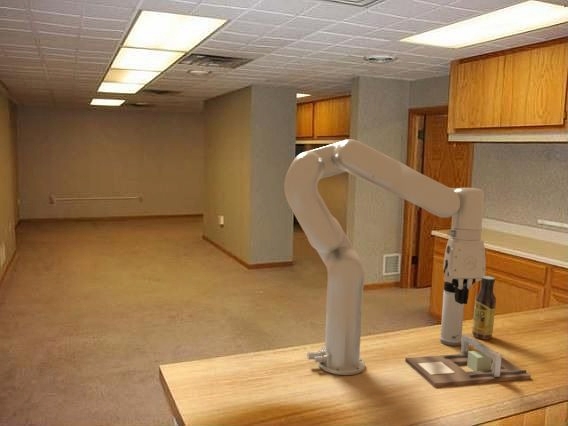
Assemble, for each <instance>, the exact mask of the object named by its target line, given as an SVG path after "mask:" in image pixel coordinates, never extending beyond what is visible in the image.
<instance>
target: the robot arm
mask: <svg viewBox="0 0 568 426" xmlns="http://www.w3.org/2000/svg"><path fill="white" fill-rule="evenodd" d="M343 173H348V174H351V175H352V176H355V178H358V179H360V180H362V181H364V182H366V183H368V184H370V185H372V186H373V187H376V188H378V189H379V190H381V191H384V192H386V193H387V194H390V195H393V196H396V197H398V198H401V199H403V200H405V201H408V202H409V203H411V204H414V205H416V206H418V207H419V208H422V209H423V210H425V211H427V212H428V213H430V214H432V215H434V216H437V217H439V218H443V219H444V218H445V219H446V218H447V219H448V218H450V217H451V226H450V230H447V231H446V235H447V236H448V237H450V238H448V240H447V242H446V246H445V252H444V258H443V266H442V268H443V269H442V271H443V273H442V274H444V275H443V277H442V279H443V281H444V282H450V283H452V284H453V286H454V287H455V301H456V302H458V303H460V304H464V305H467V304H468V301H469V292H470V289H471V288H472V286H473V285H474V284H475V283H478V282H481V280H482V277H484V276H486V263H487V262H486V248H485V241H484V240H482V231H483V230H482V228H483V218H484V217H483V216H484V215H483V214H484V201H485V194H484V193H485V192H484V191H483V189H480V188H477V187H458V188H457V187H448V186H446V185H445V184H443V183H441V182H439V181H436V180H435V179H433V178H432V177H428V176H427V175H425V174H422V173H421V172H419V171H417V170H415V169H413V168H412V167H410V166H408V165H406V164H404V163H402V162H401V161H399V160H396V159H395V158H393V157H391V156H388V155H386V154H385V153H383V152H381V151H379V150H377V149H376V148H373V147H371V146H369V145H367V144H366V143H364V142H361V141H359V140H356V139H352V138H349V139H347V138H346V139H344V140H341V141H338V142H335V143H332V144H328V145H326V146H322V147H319V148H315V149H310V150H307V151H303V152H301V153H299V154H298V155H296V156H295V158H294V159H293V161H292V162H291V164H290V166H289V167H288V170H287V172H286V174H285V179H284V195H285V198H286V200H287V203H288V205H289V207H290V209H291V211H292V214H293V215H294V217H295V218H296V220H297V222H298V223H299V226H300V227H301V229H302V231H303V232H304V234H305V236H306V237H307V241H308V242H309V244H310V246H311V247H312V249H314V250H316V252H317V254H318V256H319V257H320V258H321V260H322V263H324V265H325V267H326V271H327V284H326V286H327V288H326V301H325V302H326V306H325V310H326V311H325V315H326V316H325V334H324V335H325V338H324V346H321V349H320V350H318V351H316V352H314V351H310V352H309V351H308V352H307V353H306V357H307V360H308V361H309V360H314V362H315V363H318V367H319V368H320V369H322V370H323V372H327V373H329V374H333V375H337V376H352V375H357V374H359V373H362V372H363V371H364V370H365V367H366V362H365V360H364V359H362V358H361V357H360V353H361V352H360V351H361V332H362V331H361V329H362V311H363V295H364V286H365V277H366V276H365V267H364V263H363V262H362V259H361V258H360V256H359V254H358V252H357V251H356V249H355V248H354V246H353V245H352V242H351V241H350V238H349V237H348V236H347V234H346V233H345V231H344V230H343V227H342V226H341V224H340V223H339V221H338V219H337V218H336V217H334V216H333V214H332V213H331V212H330V210H329V208H328V207H327V205H326V203H325V201H324V199H323V198H322V195H321V194H320V192H319V189H318V184H319V181H320V180H321V179H325V178H328V177H333V176H336V175H339V174H343Z"/></svg>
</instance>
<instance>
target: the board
mask: <svg viewBox="0 0 568 426" xmlns="http://www.w3.org/2000/svg"><path fill="white" fill-rule="evenodd" d="M496 352H497V351H496ZM497 353H498V354H499V352H497ZM404 361H405V363H407V364H408V365H409V366H410V368H412V369H413V370H414V371H416V373H418V374H419V375H420V376H421V377H422V378H423V379H425V380H426V381H427V383H429V384H430V385H432V387H433V388H440V387H452V386H462V385H475V384H485V383H489V384H490V383H499V382H510V381H511V382H512V381H522V380H531V378H532V376H531V374H529V373H527V369H521V368H520V367H519V366H518V365H517V366H516V365H515V364H513V363H511V361H509V360H507V359H505V358H504V357H502V356H501V368H500V376H499V377H494V376H492V369H491V370H483V371H473V370H472V371H471V370H470V371H466V370H464V369H463V368H462V367H460V366H462V365H464V366H465V365H466V366H467V361H468V354H463V355H462V354H461V353H455V354H443V355H429V356H428V355H427V356H415V357H412V356H411V357H405V360H404ZM492 362H493V359H492Z"/></svg>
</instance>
